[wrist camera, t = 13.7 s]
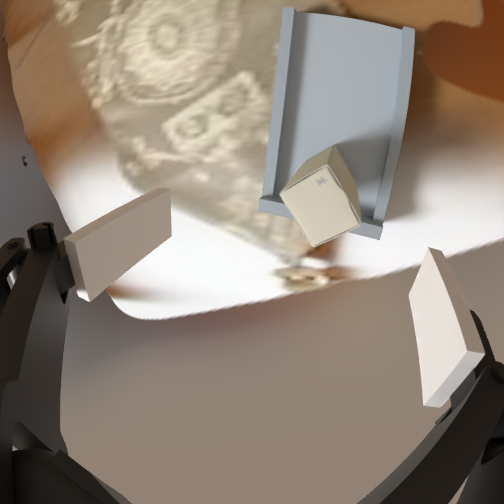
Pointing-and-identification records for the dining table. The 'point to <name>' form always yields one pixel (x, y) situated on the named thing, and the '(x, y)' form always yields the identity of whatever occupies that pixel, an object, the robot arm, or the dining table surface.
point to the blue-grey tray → (339, 106)
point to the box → (323, 197)
